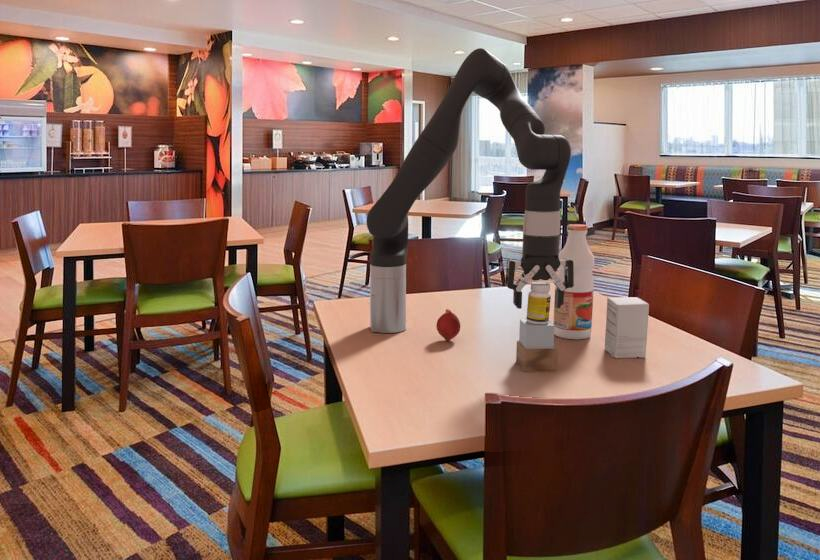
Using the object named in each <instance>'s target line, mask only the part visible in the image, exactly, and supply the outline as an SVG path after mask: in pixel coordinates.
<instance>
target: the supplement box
mask: <svg viewBox="0 0 820 560" xmlns="http://www.w3.org/2000/svg"><path fill="white" fill-rule="evenodd" d="M649 311H650V304H649V303H648V302H647V301H644V300H643V299H642V298H640V297H637V296H634V297H633V296H630V297H627V296H626V297H624V296H623V297H607V299H606V319H605V333H604V334H605V335H604V350H606V351H607V353H608V354H610V355H611V356H612V355H613V356H614V357H615V359H619V358H620V359H623V358H624V359H626V358H627V359H629V358H630V359H634V358H635V359H636V358H637V357H639V358H646V356H647V341H648V327H649V326H648V325H649ZM613 356H612V357H613ZM614 357H613V358H614Z"/></svg>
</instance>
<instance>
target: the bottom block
mask: <svg viewBox="0 0 820 560" xmlns="http://www.w3.org/2000/svg"><path fill="white" fill-rule="evenodd" d="M515 363H516V364H517V365H518V366H519V368H520V369H521V370H522V371H523V372H524V373H538V372H541V373H542V372H543V373H546V372H557V371H558V369H557V368H558V348H557V347H556V346H555V345H554V348H553V349H525V348H524V346H523V345H522V344H521V343H520V341H519V340H516V353H515Z"/></svg>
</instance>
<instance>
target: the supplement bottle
mask: <svg viewBox="0 0 820 560" xmlns="http://www.w3.org/2000/svg"><path fill="white" fill-rule="evenodd" d="M550 290H551V284H550V283H549V282H544V281H534V282H531V283H530V291H529V292H528V294H527V295H528V297H527V306H526V307H527V309H526V318H525V319H526V320H527V321H528V322H529V323H532V324H547V323H548V321H550V312H551V311H550V309H551V299H552V298H551V297H552V294H551V293H550Z"/></svg>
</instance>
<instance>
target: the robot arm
mask: <svg viewBox="0 0 820 560" xmlns="http://www.w3.org/2000/svg"><path fill="white" fill-rule="evenodd" d="M514 79H515V78H513V75H512V74H511V71H510V69H509V67H508V66H507V65H506V64H505V63H504V62H502V61H501V60H500V59H499V58H498V57H496V56H495V55H493V53H491V52H490V51H488V50H487V49H485V48H483V47H482V48H480V47H479V48H475V49H474V50H472V51H471V52H470V53H469V54H468V55H467V56H466V58H465V59H464V60H463V62H462V64H461V65H460V66H459V68H458V70H457V72H456V74H455V76H454V77H453V79H452V82H451V84H450V85H449V87H448V89H447V91H446V93H445V95H444V96H443V98H442V100H441V101H440V103H439V105H438V106H437V108H436V110H435V111H434V113H433V114H432V117H431V118H430V120H429V121H428V123H427V124H426V126H424V128H423V129H422V131H421V133H419V136H418V137H417V139H416V140H415V142H414V143H413V145H412V146H411V148H410V150H409V152H408V153H407V155H406V157H405V158H404V160H403V162H402V163H401V164H400V165H401V166H400V167H399V169H398V171H397V173H396V175H395V177H394V178H393V180H392V181H391V183H390V184H389V186H388V187H387V188H386V190H385V191H384V192H383V193H382V195H381V196H380V197H379V198H378V199H377V201H376V202H375V203H374V204H373V206H372V207H371V208H370V209H369V211H368V213H367V217H366V226H367V230H368V232H369V234H370V235H371V236H372V237H373V238H372V247H371V252H370V254H369V270H370V271H369V274H370V275H369V277H370V278H369V279H370V281H369V283H370V286H369V288H370V291H369V322H370V324H369V325H370V332H371V333H382V334H394V333H399V332H403V331H405V330H406V329H407V325H406V324H407V302H406V301H407V256H408V251H409V250H408V249H409V216H408V214H409V212H410V210H411V209H412V207H413V205H414V203H415V202H416V200H417V199H418V198H419V197H420V195H421V194H422V193H423V192H424V191H425V190H426V188H428V187H429V186H430V184H431V183H432V182H434V180H435V179H436V178H437V177H438V176H439V174H440V173H441V171H443V170H444V168H445V166H446V165H447V164H448V162H449V160H450V159H451V158H452V156H453V155H454V153H455V151H456V149H457V147H458V144H459V135H460V126H461V118H462V117H461V116H462V113H463V110H464V107H465V106H466V103H467V102H468V100H469V99H470V97H471V94H473V92H474V93H475V94H476V95H477V96H479V97H480V98H483V99H485V100H486V101H488V102H489V103H491V104H492V105H494V107H496V108H497V109H498V111H499V117H500V120H501V123H502V125H503V127H504V128H505V130H506V131H507V133H508V134H509V135H510V137H511V138H512V140H513V142H514V145H515V149H516V154H517V158H518V161H519V163H520V164H521V166H523V167H524V168H526V169H528V170H534V171H537V170H538V171H539V170H544V171H545V172H544V173H543V176H542V177H541V178H540V179H538V180H534V181H532V182H530V183H528V184H527V186H526V188H525V206H524V207H525V210H524V216H523V225H522V252H521V253H522V254H521V255H522V257H521V259H520V260H513V259H511V258H508V259H507V260H506V271H505V279H504V280H505V281H504V285H505V286H506V287H507V288H508V289H509V290H513V298H512V299H513V300H512V303H513V305H514V307H515V308H516V309H522V308H523V307H522V306H523V303H522V302H523V291H522V290H523V288H525V286H526V285H527V284H528V283H529V282H530V281H531V280H532V281H534V282H538V281H541V280H542V281H548V280H551V282H552V283H553V284H554V287H555V286H556V287H557V289H555V288H554V302H555V307H556V308H561V305H563V303H564V291H565V289H567V288H572V287H573V286H574V269H573V261H572V260H570V259H568V258H566V259H565V260H559V257H558V255H559V253H560V234H561V233H560V232H561V215H560V207H561V206H560V205H561V203H560V201H561V190H562V188H563V183H564V181H565V176H566V174H567V171H568V168H569V164H570V162H571V155H572V149H571V145H570V143H569V141H568V139H567V138H566V137H565V136H563V135H561V134H545V132H546V131H545V129H546V126H545V124H544V122H543V120H542V119H541V117H540V116H539V115H538V114H537V112H536V111H535V110H534V108H533V107H532V106H531V105H530V104H529V103H528V102H527V100H526V99H525V97H524V96H523V95H522V93H521V91H520V89H519V88H518V87H517V84H516V82H515V80H514ZM560 265H561V266H562V268H563V269H564V282H561V280H560V278H559V277H558V276H557V274H558V273H557V271H558V268H559V266H560ZM519 267H520V268H521V269H522V272H521V274H520V275H519V276H518V279H517V280H516V281H515V271H517V270H518V269H519Z"/></svg>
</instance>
